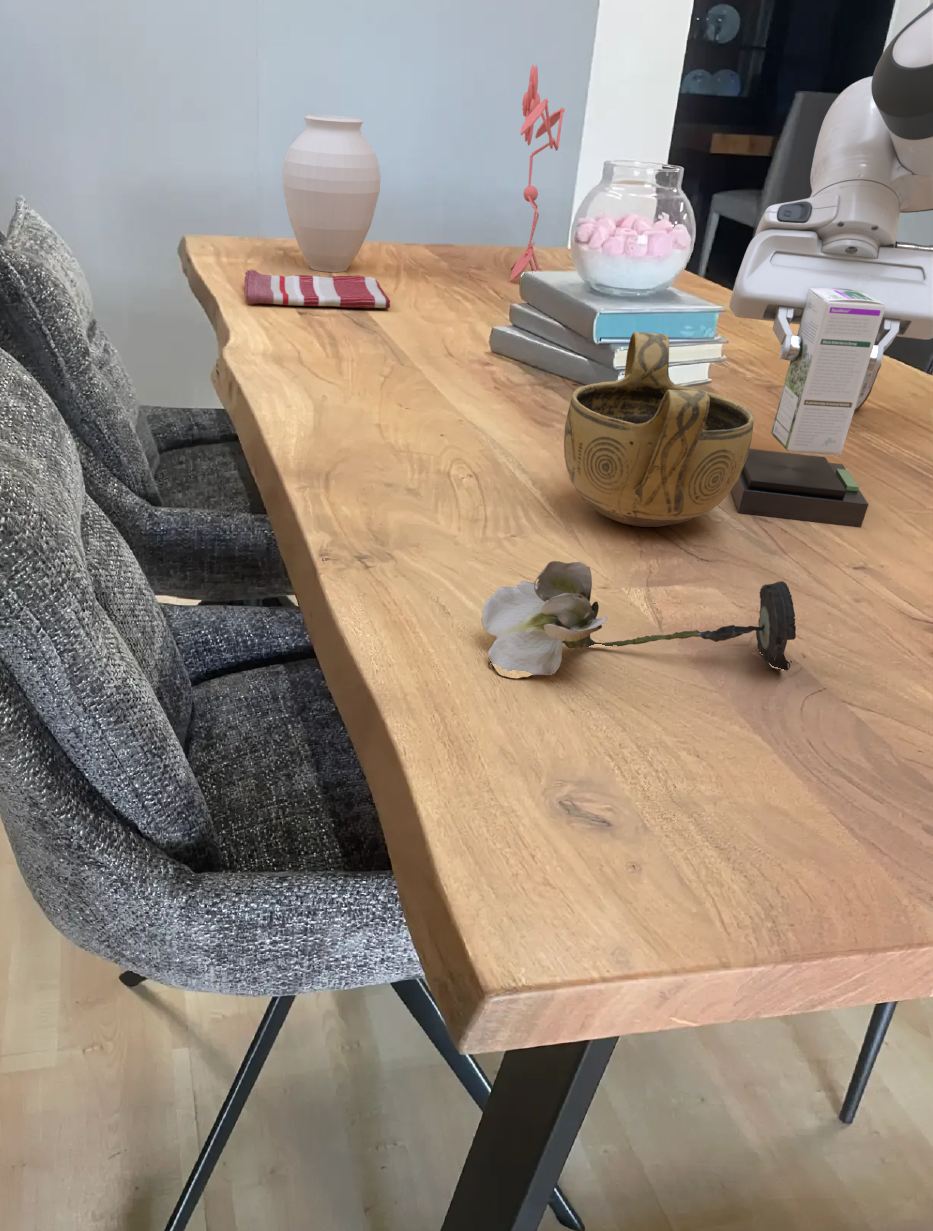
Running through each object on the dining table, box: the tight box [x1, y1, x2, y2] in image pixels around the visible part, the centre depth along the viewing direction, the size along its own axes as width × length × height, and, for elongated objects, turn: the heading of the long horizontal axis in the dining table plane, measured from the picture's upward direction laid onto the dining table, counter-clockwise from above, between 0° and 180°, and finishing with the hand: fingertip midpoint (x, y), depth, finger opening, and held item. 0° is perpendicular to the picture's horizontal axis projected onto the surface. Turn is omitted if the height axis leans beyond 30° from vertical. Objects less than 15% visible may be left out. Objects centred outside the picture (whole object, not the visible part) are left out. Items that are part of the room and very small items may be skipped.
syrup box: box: [770, 288, 886, 457], centre depth 103 cm, size 6×6×14 cm
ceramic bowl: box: [563, 331, 755, 528], centre depth 99 cm, size 22×17×15 cm
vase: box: [282, 113, 381, 273], centre depth 193 cm, size 18×18×25 cm
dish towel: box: [243, 268, 391, 309], centre depth 176 cm, size 17×23×3 cm
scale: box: [730, 448, 869, 528], centre depth 109 cm, size 12×12×3 cm
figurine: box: [467, 64, 565, 283], centre depth 195 cm, size 15×26×35 cm, turn 170°
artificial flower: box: [481, 560, 797, 676], centre depth 76 cm, size 9×22×10 cm, turn 89°
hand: (829, 361), depth 101 cm, fingers closed on syrup box, 6 cm apart
